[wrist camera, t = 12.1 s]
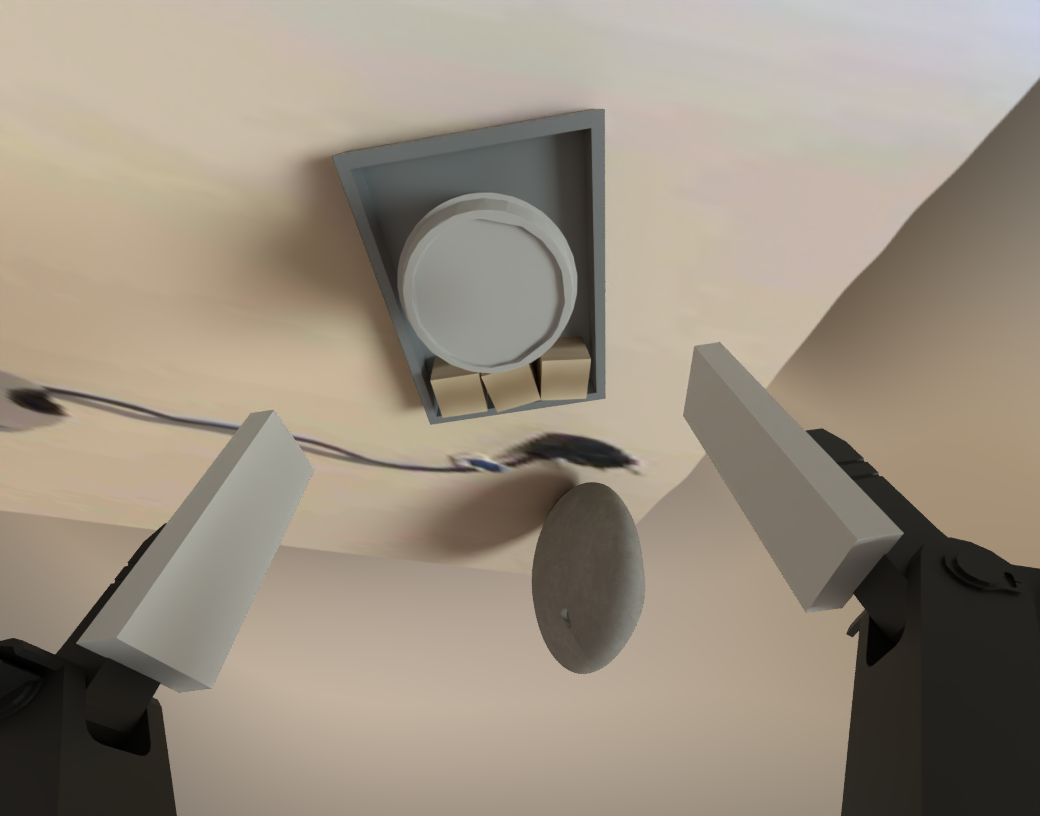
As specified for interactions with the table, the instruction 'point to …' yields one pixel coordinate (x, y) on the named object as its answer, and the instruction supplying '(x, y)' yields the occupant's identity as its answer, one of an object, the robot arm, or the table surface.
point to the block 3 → (564, 370)
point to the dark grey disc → (588, 578)
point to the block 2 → (512, 387)
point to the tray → (498, 169)
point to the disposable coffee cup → (487, 282)
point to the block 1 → (457, 389)
